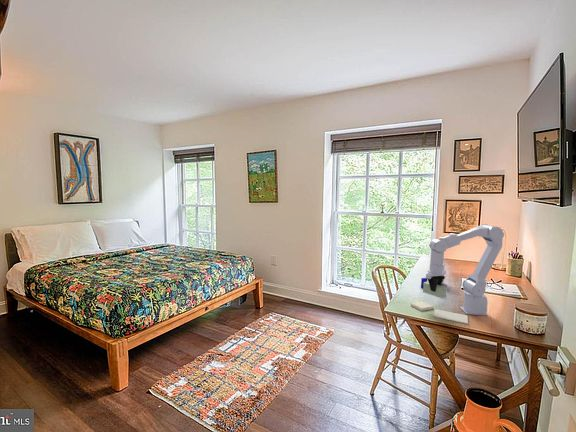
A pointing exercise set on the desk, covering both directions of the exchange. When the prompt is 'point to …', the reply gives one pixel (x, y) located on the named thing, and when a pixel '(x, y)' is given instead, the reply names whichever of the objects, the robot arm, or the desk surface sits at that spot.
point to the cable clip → (424, 281)
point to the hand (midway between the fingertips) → (434, 290)
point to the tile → (422, 306)
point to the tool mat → (451, 316)
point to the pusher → (438, 293)
